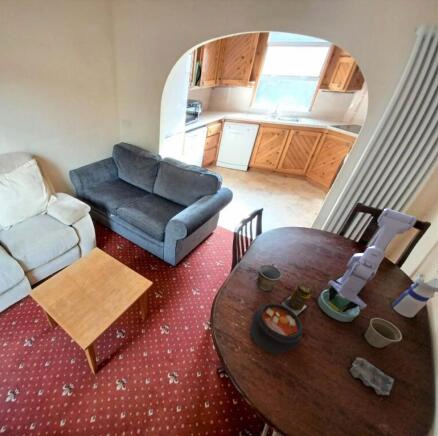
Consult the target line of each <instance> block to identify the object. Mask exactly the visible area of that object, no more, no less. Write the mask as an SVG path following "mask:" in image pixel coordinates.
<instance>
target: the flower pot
mask: <svg viewBox="0 0 438 436" xmlns="http://www.w3.org/2000/svg"><path fill="white" fill-rule="evenodd" d="M363 336H364V339H365V341H366V342H367V343H368V344H369V345H370V346H373V347H375V348H379V349H382V348H384V347H386V346H388V345H390V344H392V343H396V342H401V340H402V339H403V335H402V333H401V331H400V329H399V328H398V327H397V326H395V325H394V324H393V323H391V322H390V321H388V320H386V319H383V318H381V317H373V318H371V319H370V321H369V326H368V328H367V330H366V331H365V333H364V335H363Z"/></svg>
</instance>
